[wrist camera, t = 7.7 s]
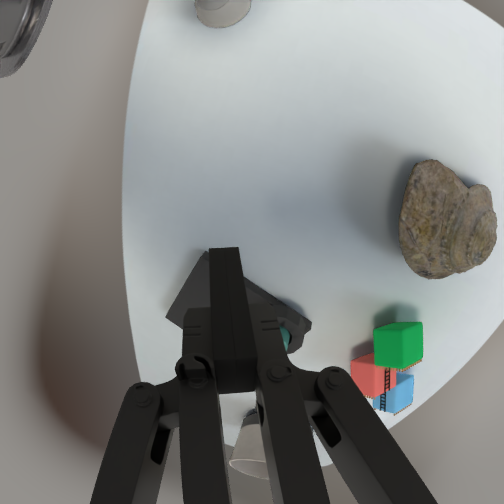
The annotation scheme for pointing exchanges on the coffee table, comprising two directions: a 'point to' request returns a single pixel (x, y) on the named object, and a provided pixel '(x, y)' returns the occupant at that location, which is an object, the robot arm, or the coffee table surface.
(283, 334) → the button
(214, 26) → the chalice
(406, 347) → the building blocks
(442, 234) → the fossilized seashell
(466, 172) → the coffee table surface
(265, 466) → the planter
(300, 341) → the scale
